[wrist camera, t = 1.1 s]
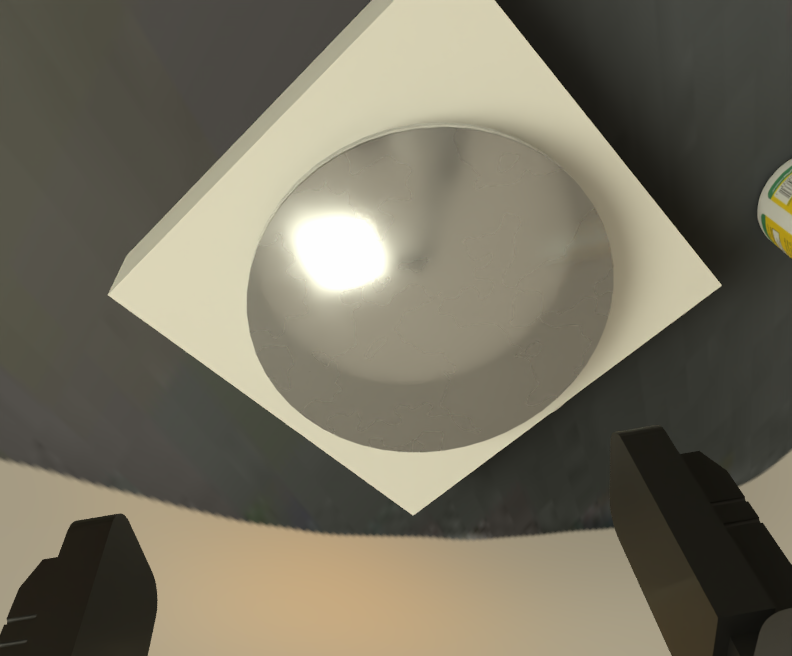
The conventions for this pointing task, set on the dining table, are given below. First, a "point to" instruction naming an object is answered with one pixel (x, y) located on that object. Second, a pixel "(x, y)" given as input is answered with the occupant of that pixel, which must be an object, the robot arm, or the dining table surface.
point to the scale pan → (429, 287)
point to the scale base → (369, 114)
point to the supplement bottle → (777, 208)
